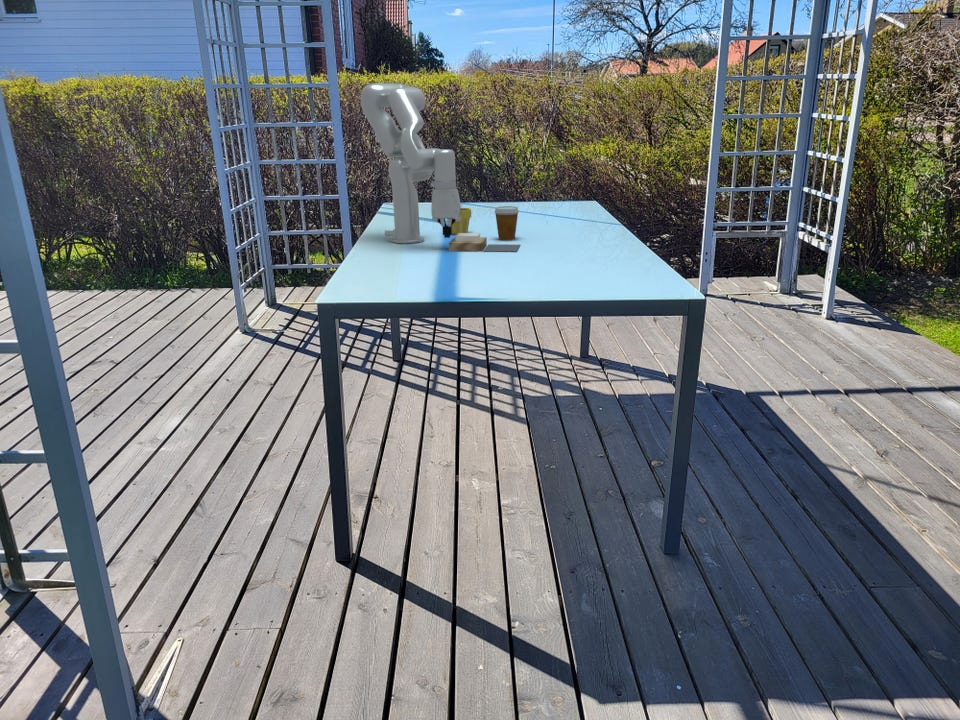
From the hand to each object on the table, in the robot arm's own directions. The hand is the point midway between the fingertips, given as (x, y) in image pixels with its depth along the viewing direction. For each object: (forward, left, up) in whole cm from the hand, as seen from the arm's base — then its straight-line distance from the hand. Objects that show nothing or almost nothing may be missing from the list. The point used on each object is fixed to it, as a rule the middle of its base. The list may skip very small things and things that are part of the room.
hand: (447, 237), depth 258 cm
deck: (+8, 0, -4) cm, 9 cm away
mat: (+20, 0, -4) cm, 20 cm away
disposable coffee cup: (+20, +20, -4) cm, 28 cm away
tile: (+8, 0, -1) cm, 8 cm away
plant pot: (-1, +33, -4) cm, 33 cm away
